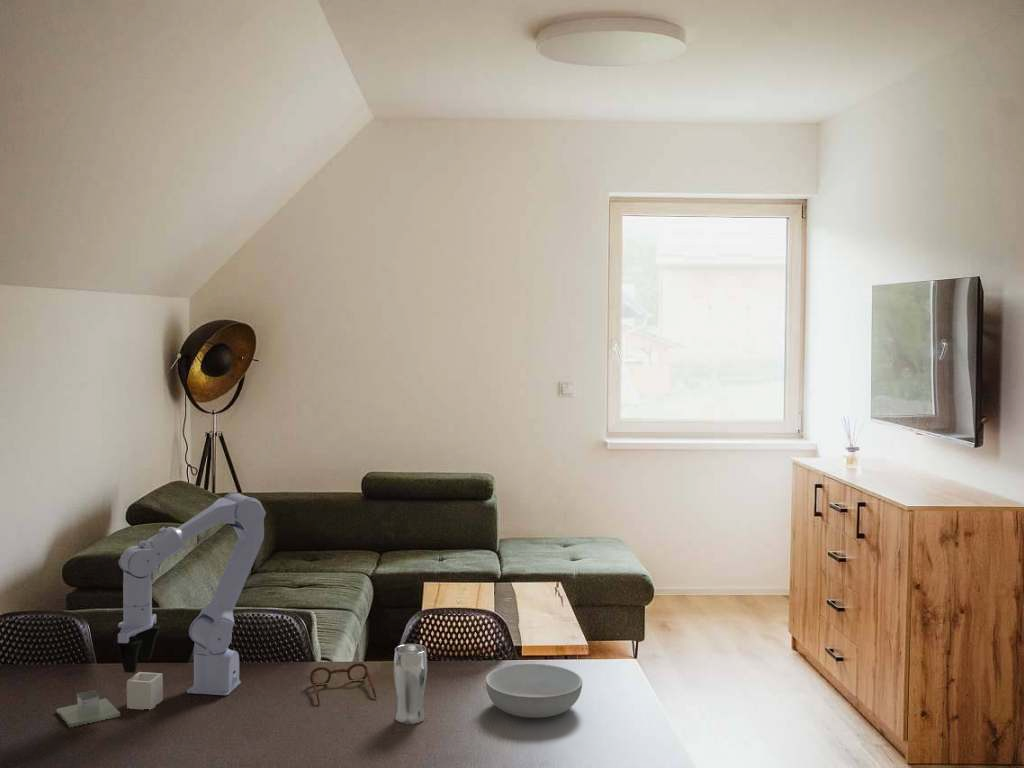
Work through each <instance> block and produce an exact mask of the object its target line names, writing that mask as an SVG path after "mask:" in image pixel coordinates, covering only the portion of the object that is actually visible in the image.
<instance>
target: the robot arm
mask: <svg viewBox="0 0 1024 768" xmlns="http://www.w3.org/2000/svg"><path fill="white" fill-rule="evenodd" d="M266 515H267V512H266V510H265V508H264V507H263V504H262V502H261V501H260V500H259V499H257V498H255V497H249V496H247V495H243V494H241V493H240V492H236V491H235V492H229V493H227V494H226V495H224V497H220V498H218V499H216V500H215V501H214V502H213V503H212V504H211V505H210V506H209V507H207V508H205V509H203V510H201V512H199V513H197V514H196V515H195V516H193V517H192V518H190V519H189V520H187V521H186V522H184V523H182V524H181V525H180V526H178V527H174V526H168V527H165V526H163V527H161V528H159V529H158V533H156V534H155V535H152V536H151V537H149V538H148V539H146V540H141V541H139V543H138V544H139V546H138V545H135V546H134V545H132V546H130V547H129V546H128V547H127V548H126V549H124V550H123V553H121V555H120V559H118V565H119V567H120V569H121V570H122V571H123V573H122V574H123V577H122V578H123V581H122V589H123V590H122V594H123V595H122V597H123V600H122V604H123V605H122V608H123V610H122V613H123V614H122V616H123V617H122V618H123V620H122V621H121V622H119V623H118V624H117V626H118V628H120V632H119V633H117V638H116V639H114V640H113V643H112V644H113V647H114V648H115V649H116V651H117V653H118V654H119V657H120V660H121V664H122V667H123V671H124V673H126V674H127V673H132V674H133V673H136V670H137V666H138V658H139V659H140V661H151V659H152V656H153V653H154V648H155V644H156V641H157V637H158V636H159V633H160V632H161V629H162V627H161V625H160V624H157V613H153V606H152V605H153V603H152V602H153V599H152V597H153V592H152V591H153V583H152V582H153V581H152V574H153V573H154V572H155V570H156V568H157V566H158V565H160V564H161V563H162V562H164V561H166V560H168V559H169V558H171V557H172V556H174V555H175V554H177V553H179V552H180V551H182V550H183V549H184V547H185V545H186V542H187V541H188V540H190V539H192V538H193V537H196V536H198V535H199V534H201V533H203V532H205V531H207V530H208V529H210V528H212V527H214V526H216V525H217V524H227V525H228V524H230V525H231V526H232V527H233V529H234V532H235V534H236V536H237V540H236V542H235V545H234V546H233V547H234V548H233V549H232V551H231V553H230V556H229V559H228V560H227V563H226V565H225V566H224V569H223V572H222V575H221V577H220V579H219V581H218V583H217V586H216V589H215V591H214V593H213V595H212V597H211V600H210V602H209V603H208V604H207V605H205V606H204V607H202V608H201V611H200V613H199V614H198V616H196V618H195V619H193V621H192V622H191V624H190V626H189V629H188V633H189V638H191V640H192V641H193V642H194V645H193V685H192V686H191V687H189V688H188V689H187V690H186V693H187V694H194V695H195V694H196V695H198V694H199V695H214V696H228V695H229V694H230V693H232V691H233V690H235V689H236V688H237V687H238V686H239V685H240V684H241V680H240V655H239V652H238V651H236V650H233V649H229V647H230V644H231V643H232V639H233V636H232V635H233V633H232V632H233V629H234V625H235V619H234V618H235V617H234V610H235V607H236V604H237V603H238V600H239V598H240V596H241V593H242V591H243V589H244V586H245V584H246V581H247V579H248V577H249V574H250V572H251V570H252V567H253V565H254V563H255V560H256V559H257V556H258V553H259V550H260V549H261V546H262V544H263V541H264V539H265V523H264V521H265V520H264V519H265V518H266V517H265V516H266ZM134 637H135V638H134Z"/></svg>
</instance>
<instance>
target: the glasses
mask: <svg viewBox="0 0 1024 768" xmlns="http://www.w3.org/2000/svg"><path fill="white" fill-rule="evenodd" d="M355 667H362V668H363V669H364V674H363V676H362V677H360V679H364V680H365V679H366V678H367V680H368V682H369V685H370V687H371V690H372V694H373V697H374V699H375V698H376V697H377V693H376V691H375V687H374V684H373V681H372V679H371V676H370V672H369V670H368V666H367V665H365V664H364V663H361V662H357V663H353V664H351V665H350V666H349V667H348V668H337V669H333V670H330V668H328V667H326V666H318V667H316V668H314V669H313V670H312V671H311V672H310V675H309V680H310V683H311V684H312V686H313V690H314V692H315V695H316V700H317V701H316V702H317V705H320V706H321V704H320V697H319V692H318V688H317V686H316V684H323V683H327V684H328V683H329V682H331V681H330V680H331V679H332V678H331V677H332V674H335V673H347V674H346V675H347V678H348V681H350V680H354V678H352V677H351V670H352V669H354V668H355ZM322 670H323V671H326V672H327V673H328V675H327V679H326V681H323V682H316V681H315V677H314V674H315V673H316V672H319V671H322Z"/></svg>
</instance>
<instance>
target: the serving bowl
mask: <svg viewBox="0 0 1024 768" xmlns="http://www.w3.org/2000/svg"><path fill="white" fill-rule="evenodd" d="M485 688H486V692H487V695H488V696H489V699H490V701H491V702H492V703H493V705H495V706H496V707H497V708H498V709H499V710H502V711H503V712H505V713H507V714H509V715H513V716H517V717H522V718H529V717H530V718H531V719H534V718H535V719H536V718H538V719H539V718H548V717H553V716H557V715H560V714H562V713H564V712H566V711H568V710H569V709H571V707H573V706H574V705H575V704H576V702H577V701H578V699H579V698H580V695H581V692H582V688H583V678H582V677H581V676H580V675H579V674H578V673H577V672H575V671H572V670H570V669H569V668H565V667H562V666H558V665H551V664H543V663H519V664H511V665H506V666H501V667H497V668H496V669H493V670H491V671H490V672H488V674H487V675H486V677H485Z"/></svg>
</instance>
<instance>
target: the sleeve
mask: <svg viewBox="0 0 1024 768" xmlns="http://www.w3.org/2000/svg"><path fill="white" fill-rule="evenodd" d="M163 677H164V674H163V673H160V672H143V671H138V672H137V673H136V674H134V675H133V676H131V677H130V678H128V679H127V680H126V709H128V708H129V710H130V709H131V710H132V709H134V710H144V709H149V711H151V709H152V710H153V709H154V708H156V707H157V706H158V705H159V704H160V703H162V702H163V700H164V691H163V690H164V686H163V685H164V684H163V682H164V680H163ZM161 701H162V702H161ZM157 704H158V705H157ZM156 705H157V706H156Z"/></svg>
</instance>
